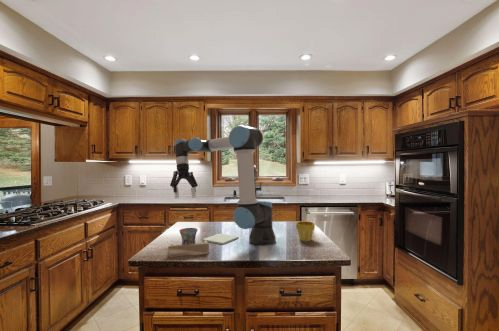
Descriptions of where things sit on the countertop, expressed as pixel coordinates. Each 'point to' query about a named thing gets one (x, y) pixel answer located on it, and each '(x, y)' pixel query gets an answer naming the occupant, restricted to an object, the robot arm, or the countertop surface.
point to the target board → (221, 239)
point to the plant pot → (305, 230)
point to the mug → (188, 235)
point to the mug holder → (188, 249)
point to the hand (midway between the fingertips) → (185, 197)
